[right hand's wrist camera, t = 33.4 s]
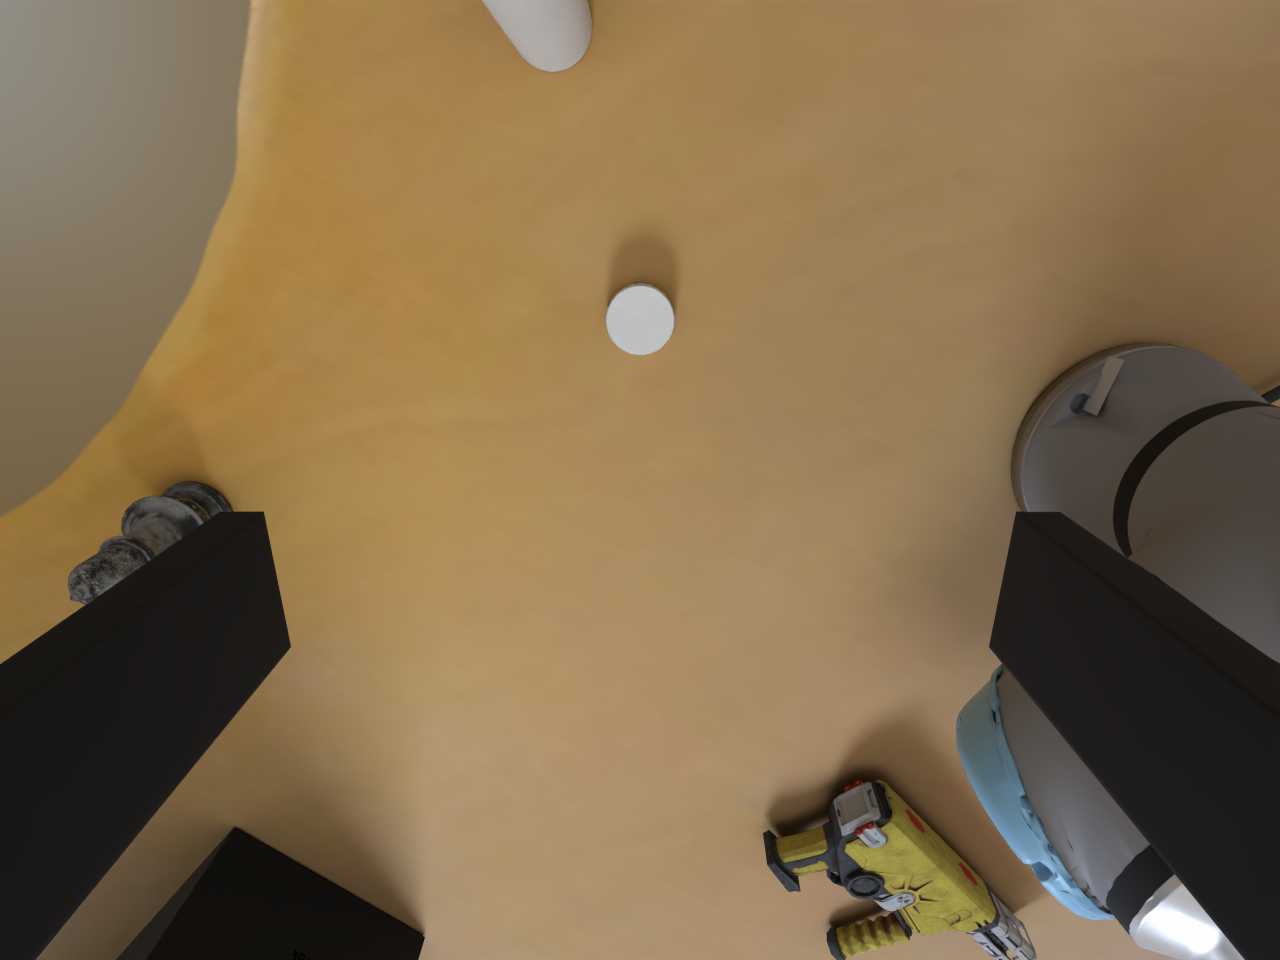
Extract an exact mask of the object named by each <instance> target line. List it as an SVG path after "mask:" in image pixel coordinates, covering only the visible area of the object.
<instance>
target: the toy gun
mask: <svg viewBox="0 0 1280 960" xmlns="http://www.w3.org/2000/svg"><path fill="white" fill-rule="evenodd" d="M828 811H829V819H830V822H827V823H825V824H823V825H822V826H820V827H818V828H814V829H811V830H808V831H805V832H802V833H799V834H795V835H790V836H786V837H781V838H777V837H776V836H775V835H774V834H773V833H772V832H771V831H769V830H768V831H767V832H764V833H763V836H764V843H765V851H766V858H767V865H768V866H769V868H770V869H771V870H772V872H773V873H774V874H775V876H776V877H777V878H778V879H779V881H780V882H781V883H782V884H783V886H784V887H785V888H786V889H787V891H788V892H792V891H797V892H801V891H800V886H799V880H798V876H801V875H807V874H809V873H814V872H821V871H825V870H826V871H827V877H828V878H829V879H830V880H831V881H832V882H833V883H835V884H837V885H840V886H842V887H845V888H846V890H847V891H848V892H849V893H850V894H851V895H852V896H854V897H856V898H862V899H868V898H872V899H873V900H874V901H875V902H877V903H878V904H879V905H880V906H881V907H882V908H884V909H885V910H888V911H893V912H892V913H890V914H889V915H888V916H887V917H884V916H877V917H876V919H875V920H874V922H873V921H871V920H869V919H867V920H865V921H864V922H863V923H862V924H861V925H860V924H857V923H851V924H850V926H849V927H848V928H846V927H844V926H842V927H838V928H837V929H835V928H834V927H833V928H830V929H829V931H828V932H827V943H828V946H829V949H830V952H831V954H832V955H833V956H834V958H835V959H837V960H845V958H850V957H852V956H853V955H854V954H855V953H856V952H857V953H860V954H864V953H866V952H867V950H868V949H872V950H874V951H875V950H878V949H879V948H880V947H881V946H882V945H885V946H892V945H893V943H894V942H895V941H897V942H900V943H903V942H907V941H909V940H910V936H912V930H911V928H912V929H914V931H916V932H917V933H920V932H921V934H922V935H929V934H933V933H935V932H940V931H947V930H953V929H956V930H957V931H965V932H966V933H967V934H969V935H971V936H972V937H973V938H974V939H975V941H976V943H978V944H980V945H981V946H982V947H983V948H984V949H985V950H986V951H987V952H988V954H989V955H990V956H992V957H993V958H995V959H996V960H1011V959H1010V958H1009V957H1008V956H1007V954H1006V951H1007V950H1009V949H1008V948H1007V946H1008V947H1009V948H1010V949H1011V950H1012V951H1013V952H1014V953H1015V954H1016V955H1017V956H1016V957H1013V960H1015V959H1018V958H1020V959H1021V960H1030V959H1031V960H1035V959H1036V957H1037V954H1036V952H1035V949H1034V947H1033V945H1032V942H1031V940H1030V938H1029V936H1028V933H1027V931H1026V929H1025V926H1024V924H1023V923H1022V922H1021V921H1020V920H1018V919H1017V918H1016V917H1015V916H1014V915H1013V914H1012V913H1011V911H1010V909H1008V908H1006V907H1005V906H1004V905H1003V904H1002V903H1001V902H1000V901H999V900H998V898H997V897H996V896H995V895H994V894H992V893H991V892H990V890H989V887H988V885H987V883H985V882H984V881H983V880H982V879H981V878H980V877H979V876H978V875H977V874H976V873H975V872H974V871H973V870H972V869H971V868H970V867H969V866H968V865H967V864H966V863H965V862H964V861H963V860H962V859H961V858H960V857H959V856H958V855H957V854H956V853H955V852H954V851H953V850H952V849H951V848H950V847H949V846H948V845H947V844H946V843H945V842H944V841H943V840H942V839H941V838H940V837H939V836H938V835H937V834H936V833H935V832H934V831H933V830H932V829H931V828H930V827H929V826H928V825H927V824H926V823H925V822H924V821H923V820H922V819H921V818H920V817H919V816H918V815H917V814H916V813H915V812H914V811H913V810H912V809H911V808H910V807H909V806H908V805H907V804H906V803H905V802H904V801H903V800H902V799H901V798H900V797H899V796H898V795H897V794H896V793H895V792H894V791H893V790H892V789H891V788H890V787H889V786H888V785H887V784H886V783H885V782H883V781H881V780H877V781H875V782H866V783H863V782H862V781H861V780H857V781H855V782H854V784H853V786H851V785H847V786H846V787H844V793H843V794H841V795H839V796H838V797H837V798H835V799H834V800H832V803H831V805H830V808H829V810H828ZM833 872H837V874H835V873H833ZM839 874H840V875H839ZM1013 925H1015V926H1016V928H1017V929H1016V928H1015V927H1014V926H1013ZM1018 927H1019V928H1021V929H1024V930H1025V933H1026V935H1027V937H1028V939H1029V942H1030V944H1031V945H1030V944H1029V943H1028V942H1027V941H1026V940H1025V939H1024V938H1023V937H1022V935H1021V933H1020V931H1019V929H1018ZM1021 949H1023V950H1024V951H1025V952H1026V954H1027V955H1028V956H1029V958H1030V959H1029V958H1028V957H1027V956H1026V955H1025V954H1024V953H1023V952H1022V951H1021Z"/></svg>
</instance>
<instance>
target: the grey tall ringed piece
mask: <svg viewBox="0 0 1280 960" xmlns="http://www.w3.org/2000/svg"><path fill="white" fill-rule="evenodd" d="M219 512H232V511H231V509H230V506H229V505H228V503H227V502H226V501H225V499H224V498H223V497H222V496H221V495H220V494H219V493H218V492H216V491H215V490H214V489H212V488H210V487H208V486H206V485H203V484H200V483H196V482H183V483H178V484H175V485H173V486H172V487H170V488H168V489H167V490H166V491H165V492H164V493H163V494H162V496H150V497H145V498H142V499H140V500H138V501H136V502H134V503H132V504H131V505H130V507H129V508H128V509H127V510H126V511H125V513H124V516H123V518H122V525H121V531H122V535H123V536H116V537H112V538H110V539H108V540H106V541H105V542H104V543H103V544H102V545H101V546H100V548H99V551H98V553H97V554H96V555H94V556H92V557H91V558H89V559H87V560H86V561H84V562H83V563H81V564H79V565H78V566H76V567H75V568H74V569H73V571H72V572H71V573H70V575H69V577H68V588H69V591H70V593H71V594H70V595H71V596H70V598H71V599H70V600H71V601H79V602H81V603H83V604H85V605H86V604H88V603H89V602H91V601H92V600H94V599H95V598H96V597H98V596H99V595H101V594H102V593H104V592H105V591H106V590H108V589H109V588H111V587H112V586H114V585H115V584H117V583H118V582H119V581H121V580H122V579H124V578H125V577H127V576H128V575H129V574H131V573H132V572H134V571H135V570H137V569H138V568H140V567H141V566H142V565H144V564H145V563H147V562H148V561H150V560H151V559H152V558H154V557H155V556H157V555H158V554H160V553H161V552H163V551H164V550H165V549H167V548H168V547H170V546H171V545H173V544H174V543H175V542H177V541H178V540H180V539H181V538H183V537H184V536H186V535H187V534H188V533H190V532H191V531H193V530H194V529H196V528H197V527H199V526H200V525H201V524H203V523H204V522H206V521H207V520H209V519H210V518H211V517H213V516H214V515H216V514H217V513H219Z"/></svg>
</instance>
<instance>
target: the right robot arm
mask: <svg viewBox="0 0 1280 960" xmlns="http://www.w3.org/2000/svg"><path fill="white" fill-rule="evenodd" d="M1278 399H1280V385H1279V386H1277V387H1276V388H1274V389H1272V390H1270V391H1268V392H1266V393H1265V394H1263V395H1261V396H1260V395H1259V394H1258V393H1256V392H1255V391H1254V390H1253V389H1251V388H1250V387H1249V386H1248V385H1246V384H1245V383H1244V382H1243V381H1241V380H1240V379H1239V377H1238V376H1237V375H1236V374H1235V373H1234V372H1232V371H1231V370H1230V369H1229V368H1228V367H1226V366H1225V365H1223V364H1222V363H1220V362H1218V361H1217V360H1215V359H1213V358H1211V357H1209V356H1207V355H1205V354H1203V353H1200V352H1197V351H1194V350H1190V349H1186V348H1182V347H1177V346H1173V345H1169V344H1162V343H1135V344H1129V345H1123V346H1119V347H1115V348H1112V349H1109V350H1106V351H1103V352H1100V353H1098V354H1096V355H1094V356H1091V357H1089V358H1087V359H1086V360H1084V361H1082V362H1080V363H1078V364H1077V365H1075V366H1074V367H1072V368H1071V369H1069V370H1068V371H1067V372H1065V373H1064V374H1063V375H1061V376H1060V377H1059V378H1058V379H1057V380H1056V381H1055V382H1053V383H1052V384H1051V385H1050V386H1049V387H1048V388H1047V389H1046V391H1045V392H1044V393H1043V394H1042V395H1041V396H1040V397H1039V399H1038V400H1037V401H1036V402H1035V404H1034V405H1033V407H1032V408H1031V410H1030V411H1029V413H1028V414H1027V416H1026V418H1025V420H1024V422H1023V424H1022V426H1021V428H1020V431H1019V433H1018V436H1017V439H1016V442H1015V445H1014V450H1013V454H1012V463H1011V478H1012V486H1013V490H1014V494H1015V497H1016V500H1017V503H1018V505H1019V507H1020V509H1021V511H1022V512H1016V516H1015V521H1014V526H1013V531H1012V536H1011V540H1010V545H1009V550H1008V555H1007V560H1006V565H1005V570H1004V575H1003V580H1002V585H1001V590H1000V595H999V600H998V605H997V610H996V615H995V620H994V625H993V630H992V635H991V640H990V645H989V647H990V649H991V650H992V651H993V652H994V654H995V655H996V656H997V657H998V658H999V660H1000V661H1001V662H1002V663H1003V664H1001V665H1000V666H999V667H998V668H997V669H995V671H994V672H993V674H992V676H991V680H990V681H989V682H988V683H987V684H986V685H985V686H984V687H983V688H982V689H981V690H980V691H979V692H978V693H977V694H976V695H975V696H974V697H973V698H972V699H971V700H970V701H969V702H968V703H967V704H966V705H965V706H964V707H963V708H962V710H961V711H960V713H959V716H958V718H957V724H956V743H957V749H958V753H959V756H960V759H961V762H962V765H963V768H964V770H965V773H966V775H967V777H968V779H969V781H970V783H971V786H972V787H973V789H974V791H975V793H976V795H977V797H978V799H979V800H980V802H981V804H982V806H983V807H984V809H985V811H986V812H987V814H988V815H989V817H990V819H991V820H992V822H993V823H994V825H995V826H996V828H997V829H998V831H999V832H1000V834H1001V835H1002V837H1003V838H1004V839H1005V841H1006V842H1007V844H1008V845H1009V846H1010V848H1011V849H1012V850H1013V852H1014V853H1015V854H1016V855H1017V857H1018V858H1019V859H1020V860H1021V861H1022V862H1023V863H1025V864H1029V865H1030V866H1031V868H1032V870H1033V871H1034V873H1035V875H1036V876H1037V878H1038V880H1039V881H1040V883H1041V884H1042V885H1043V886H1044V887H1045V888H1046V889H1047V890H1048V891H1049V892H1050V893H1051V894H1052V895H1053V896H1054V897H1055V898H1056V899H1057V900H1058V901H1059V902H1060V903H1062V904H1063V905H1064V906H1065V907H1067V908H1068V909H1069V910H1071V911H1072V912H1074V913H1075V914H1077V915H1079V916H1082V917H1085V918H1088V919H1091V920H1099V919H1106V920H1110V919H1113V918H1114V917H1115V918H1116V919H1117V920H1118V921H1119V923H1120V924H1121V925H1122V926H1123V928H1124V929H1125V930H1126V931H1127V933H1128V934H1129V935H1130V937H1131V938H1132V939H1133V940H1134V941H1135V942H1136V943H1137V945H1138V946H1140V947H1142V948H1145V949H1149V950H1152V951H1155V952H1158V953H1161V954H1164V955H1168V956H1171V957H1174V958H1177V959H1180V960H1280V407H1278V406H1275V405H1271V403H1272V402H1274V401H1276V400H1278ZM290 647H291V645H290V640H289V635H288V630H287V625H286V620H285V615H284V610H283V605H282V600H281V595H280V590H279V585H278V580H277V575H276V570H275V565H274V560H273V555H272V550H271V545H270V541H269V536H268V531H267V526H266V521H265V516H264V512H219V513H217V514H216V515H214V516H213V517H211V518H210V519H209V520H207V521H206V522H204V523H203V524H201V525H200V526H199V527H197V528H196V529H194V530H193V531H191V532H190V533H188V534H187V535H186V536H184V537H183V538H181V539H180V540H178V541H177V542H175V543H174V544H173V545H171V546H170V547H168V548H167V549H165V550H164V551H163V552H161V553H160V554H158V555H157V556H155V557H154V558H152V559H151V560H150V561H148V562H147V563H145V564H144V565H142V566H141V567H140V568H138V569H137V570H135V571H134V572H132V573H131V574H129V575H128V576H127V577H125V578H124V579H122V580H121V581H119V582H118V583H117V584H115V585H114V586H112V587H111V588H109V589H108V590H106V591H105V592H104V593H102V594H101V595H99V596H98V597H96V598H95V599H94V600H92V601H91V602H89V603H88V604H86V605H85V606H83V607H82V608H81V609H79V610H78V611H76V612H75V613H73V614H72V615H71V616H69V617H68V618H66V619H65V620H63V621H62V622H60V623H59V624H58V625H56V626H55V627H53V628H52V629H50V630H49V631H48V632H46V633H45V634H43V635H42V636H40V637H39V638H37V639H36V640H35V641H33V642H32V643H30V644H29V645H27V646H26V647H25V648H23V649H22V650H20V651H19V652H17V653H16V654H14V655H13V656H12V657H10V658H9V659H7V660H6V661H4V662H3V663H1V664H0V960H36V959H37V957H38V956H39V955H40V954H41V952H42V951H43V950H44V949H45V947H46V946H47V945H48V944H49V943H50V941H51V940H52V939H53V938H54V936H55V935H56V934H57V933H58V932H59V930H60V929H61V928H62V927H63V925H64V924H65V923H66V922H67V921H68V919H69V918H70V917H71V916H72V914H73V913H74V912H75V911H76V910H77V908H78V907H79V906H80V905H81V903H82V902H83V901H84V900H85V899H86V897H87V896H88V895H89V894H90V892H91V891H92V890H93V889H94V887H95V886H96V885H97V884H98V883H99V881H100V880H101V879H102V878H103V876H104V875H105V874H106V873H107V872H108V870H109V869H110V868H111V867H112V865H113V864H114V863H115V862H116V861H117V859H118V858H119V857H120V856H121V854H122V853H123V852H124V851H125V850H126V848H127V847H128V846H129V845H130V843H131V842H132V841H133V840H134V839H135V837H136V836H137V835H138V834H139V832H140V831H141V830H142V829H143V827H144V826H145V825H146V824H147V823H148V821H149V820H150V819H151V818H152V816H153V815H154V814H155V813H156V812H157V810H158V809H159V808H160V807H161V805H162V804H163V803H164V802H165V801H166V799H167V798H168V797H169V796H170V794H171V793H172V792H173V791H174V790H175V788H176V787H177V786H178V785H179V783H180V782H181V781H182V780H183V778H184V777H185V776H186V775H187V774H188V772H189V771H190V770H191V769H192V767H193V766H194V765H195V764H196V763H197V761H198V760H199V759H200V758H201V756H202V755H203V754H204V753H205V752H206V750H207V749H208V748H209V747H210V745H211V744H212V743H213V742H214V741H215V739H216V738H217V737H218V736H219V734H220V733H221V732H222V731H223V730H224V728H225V727H226V726H227V725H228V723H229V722H230V721H231V720H232V718H233V717H234V716H235V715H236V714H237V712H238V711H239V710H240V709H241V707H242V706H243V705H244V704H245V703H246V701H247V700H248V699H249V698H250V696H251V695H252V694H253V693H254V692H255V690H256V689H257V688H258V687H259V685H260V684H261V683H262V682H263V681H264V679H265V678H266V677H267V676H268V674H269V673H270V672H271V671H272V670H273V668H274V667H275V666H276V665H277V663H278V662H279V661H280V660H281V658H282V657H283V656H284V655H285V654H286V652H287V651H288V650H289V649H290Z"/></svg>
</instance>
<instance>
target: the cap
mask: <svg viewBox="0 0 1280 960" xmlns="http://www.w3.org/2000/svg"><path fill="white" fill-rule="evenodd" d="M607 309H608V311H607V314H606V327H607V329H608V333H609V335H610V337H611V339H612V340H613V342H614V343H615V344H616V345H617V346H618V347H619V348H621V349H622V350H624V351H626V352H628V353H631V354H636V355H644V354H649V353H652V352H655V351H657V350H658V349H660V348H661V347H662V346H663V345H664V344H665V343H666V342H667V341H668V339H669V338H670V336H671V334H672V331H673V328H674V319H675V317H674V313H673V307H671V304H670V300H669V299H668V298H667V297H666V295H665V293H664V292H662V291H660V290H659V289H658V287H654V286H652V285H650V284H643V283H641V282H640V283H637V284H633V283H632V284H631V285H629V286H626V287H625V286H624V287H623V289H621V290H620V291H619V292H618V291H617V293H616V295H615V296H614V297H613V298H612V299H611V303H610V305H609V306H608V308H607Z"/></svg>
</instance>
